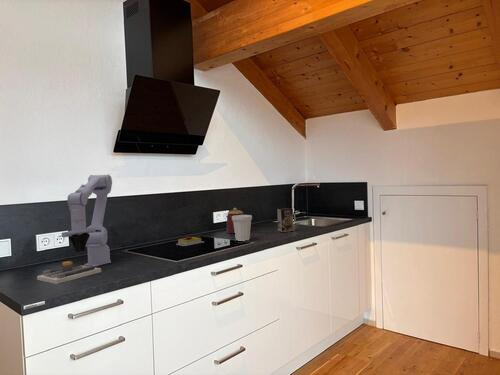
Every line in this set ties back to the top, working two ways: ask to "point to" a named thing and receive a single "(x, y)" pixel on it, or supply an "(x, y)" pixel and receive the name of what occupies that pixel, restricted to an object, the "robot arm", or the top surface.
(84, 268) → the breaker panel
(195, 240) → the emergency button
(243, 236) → the cup
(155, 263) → the top surface
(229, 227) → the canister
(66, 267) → the breaker lever
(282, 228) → the coffee box
